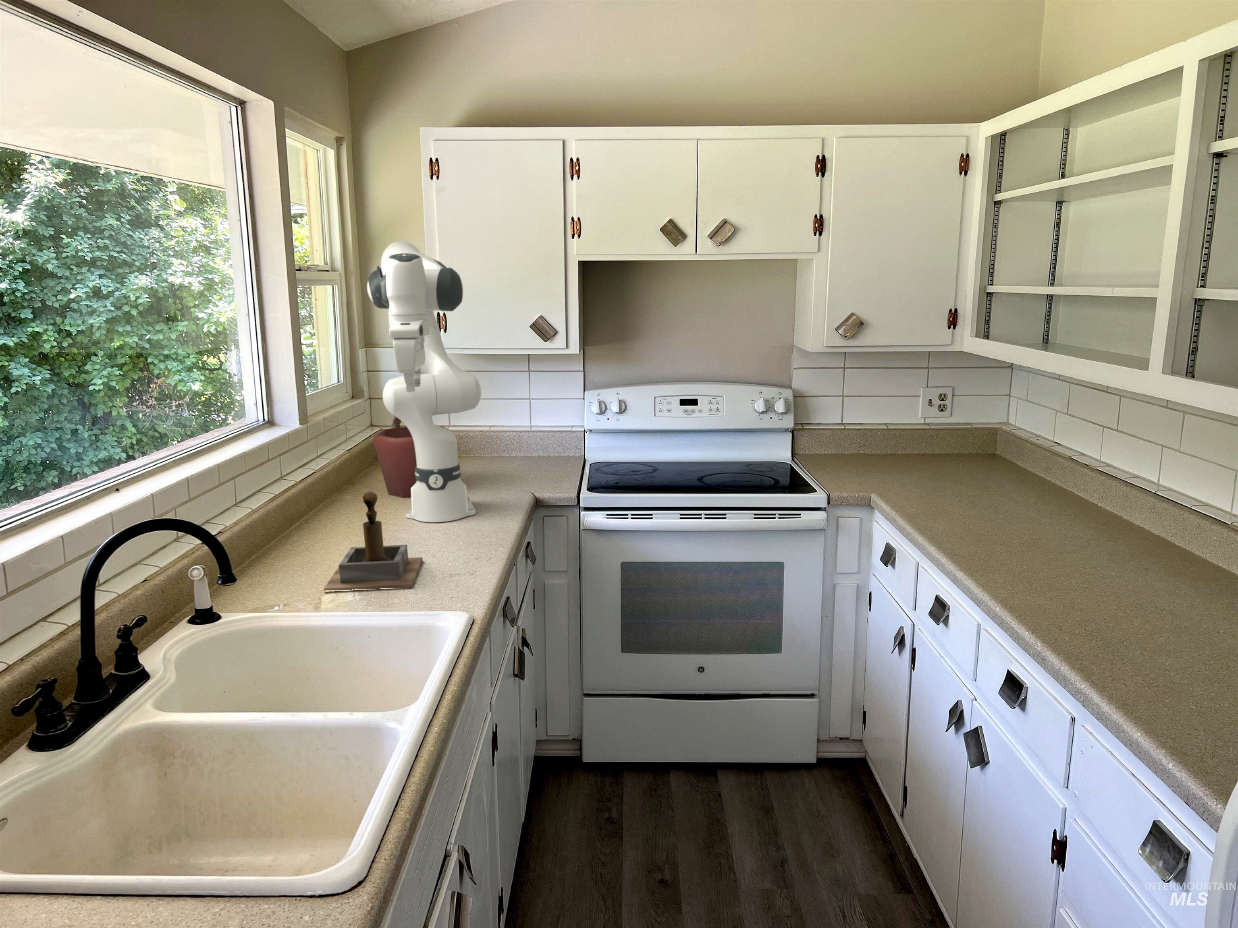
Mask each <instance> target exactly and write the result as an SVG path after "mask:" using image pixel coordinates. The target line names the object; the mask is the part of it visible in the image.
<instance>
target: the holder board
mask: <svg viewBox="0 0 1238 928" xmlns="http://www.w3.org/2000/svg"><path fill="white" fill-rule="evenodd" d="M383 547H384V556H386V557H388V558H389V559H391V561H376V562H362V561H363V560H364V559H365V558H366V551H365V546H351V547H350V548H349V550H348V551H347V553H346V554H345V555H344V557H343V558H342V559H341V561H340V563H339V564H338V567H337V569H336V570H335V571H334V573H333V574H332V575H331V577H330V579H329V581H327V583H325V584H326V585H325V586H324V587H323V592H324V591H325V590H352V589H353V590H354V589H380V588H409V589H413V587H412V586H414V583H415V582H416V580H417V577H418V573H419V571H420V569H421V567H422V564H423V562H424V559H423V557H422V556H420V557H418V556H416V557H415V556H413V557H409V553H408V544H396V545H395V544H394V545H392V544H391V545H383Z"/></svg>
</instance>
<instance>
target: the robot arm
mask: <svg viewBox="0 0 1238 928" xmlns="http://www.w3.org/2000/svg"><path fill="white" fill-rule="evenodd" d="M366 290H367V295H368V297H369V298H370V301H371V302H372V303H373V305H374V307H377V308H378V309H380V310H382V309H383V310H384V309H385V310H386V309H388V312H387V314H388V329H389V331H388V332H389V334H388V335H389V338H390V339H391V340H392V344H393V345H392V346H393V353H394V359H395V365H396V369H397V372H398V373H399V374H403V375H400V376H397V377H395V378H390V379H389V380H388V381H387V382H386V383H385V385H384V387H383V390H382V400H383V401H382V402H383V404H384V406H385V408H386V410H387V411H388V412H389V413H390V414H391V415H392V416H393V417H394V416H396V417H397V418H398V419H400V420H401V423H403V424H404V425H405V426H407V428H408V429H409V431H410V433H411V435H412V438H413V441H414V446H415V453H416V463H417V466H416V467H415V475H416V480H417V482H416V483H415V485H413V487H412V488H411V498H410V500H411V501H410V502H411V509H410V510H408V512H406V514H405V518H407V519H413V520H416V521H418V522H425V523H443V522H451V521H452V522H453V521H457V520H461V519H463V518H465V517H470V516H475V515H476V514H477V511H476V509H475V507H474V505H473V503H472V501H471V499H470V497H469V496H468V491H467V490H468V489H467V485H466V484H465V482H463V480H462V478H461V476H462V473H461V472H462V468H461V464H460V463H459V456H458V453H459V452H458V442H457V437H456V435H455V434H454V432H453V431H452V430H450V429H449V430H448V428H447V429H445V428H446V427H445V428H443V427H444V426H443V427H441V426H442V425H438V424H436V423H434V421H433V416H436V415H437V416H438V415H448V414H449V415H450V414H459V413H464V412H467V411H470V410H473V409H474V410H475V409H476V407H477V406H478V405H479V404H480V401H481V397H482V388H481V387H482V386H481V384H480V382H479V380H478V379H477V378H476V376H475V375H474V374H473V373H471V372H470V373H469V372H467V371H465V370H463V368H460V367H459V366H458V365H456V364H455V363H454V362H453V361H452V360H451V358H450V357H449V356H448V354H447V352H446V349H445V345H444V343H443V339H442V335H441V331H440V327H439V324H438V322H437V318H436V315H435V314H434V312H435V311H436V312H437V311H439V312H440V311H441V312H453V311H455V310H456V309H457V308H458V307H459V306H460V305H461V303H462V302H463V298H464V285H463V282H462V278H461V277H460V274H459V273H458V272H457V271H456V270H454V269H453V268H452V267H447V266H446V265H444V263H442V262H441V261H439V260H437V259H434V258H431V257H430V256H427V255H425V254H424V253H422V252H420V250H419V249H418V247H416V246H415V245H414V244H412V243H411V242H408V241H406V240H405V241H404V240H397V241H394V242H392V243H390V244H388V246H387V247H385V249H384V250H383V252H382V255H381V259H380V266H379V265H378V266H376V269H375V270H374V271H372V272H371V273H370V274H369V276H368V277H367V284H366Z"/></svg>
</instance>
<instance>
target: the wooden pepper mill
mask: <svg viewBox="0 0 1238 928" xmlns="http://www.w3.org/2000/svg"><path fill="white" fill-rule="evenodd" d="M362 501H363V503H364V505H365V506H366V507H367V511H366V512H365V516H366V518H367V521H365V522H363V523H362V527H363V528H362V529H363V538H364V547H365V551H366V558H365V559H364V560H363V561H362V562H376V561H391V559H389V558H388V557H386V556H384V547H383V546H384V538H383V537H384V535H383V526H382V524H383V523H382V521H381V520H377V517H378V516H377V514H378V511H376V509H375V508H376V504H377V501H378V495H377V494H376V492H374V491H367V492H364V494H363V495H362Z"/></svg>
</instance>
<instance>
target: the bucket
mask: <svg viewBox="0 0 1238 928" xmlns="http://www.w3.org/2000/svg"><path fill="white" fill-rule="evenodd" d="M401 423H402V421H401V420H400V419H398V418H397V417H396V416H394V415H393V418H392V420H391V424H390V428H384V429H383V428H382V429H381V430H380V431H378V432H377V433H375V434H373V435H372V436H373V446H374V449H375V453H376V456H377V460H378V462H379V467H380V471H381V473H382V477H383V480H384V485H385V487H386V488H385V489H386V491H387V493H388V496H392V497H398V498H400V499H411V488H412V487H413V485H415V483H416V482H417V480H416V475H415V467H416V466H417V463H416V453H415V446H414V441H413V438H412V435H411V433H410V431H409V429H408V428H407V426H406V425H405V426H401ZM440 426H441V427H443V428H445V429H448V428H447V427H445V426H443V425H440ZM448 430H450V429H448Z"/></svg>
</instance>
